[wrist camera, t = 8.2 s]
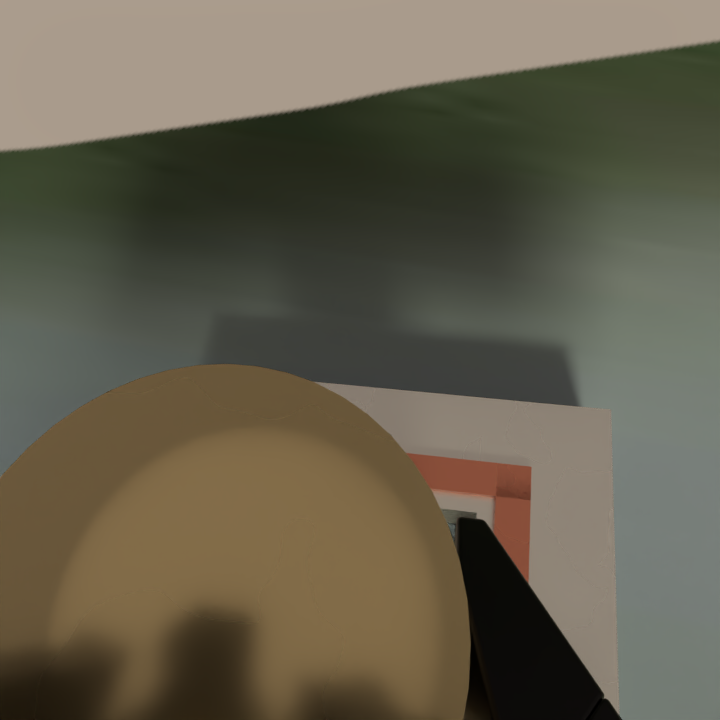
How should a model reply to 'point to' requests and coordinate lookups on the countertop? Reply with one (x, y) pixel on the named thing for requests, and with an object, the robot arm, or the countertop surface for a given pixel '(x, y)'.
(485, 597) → the robot arm
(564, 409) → the socket plate
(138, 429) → the brass peg
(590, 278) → the countertop surface
